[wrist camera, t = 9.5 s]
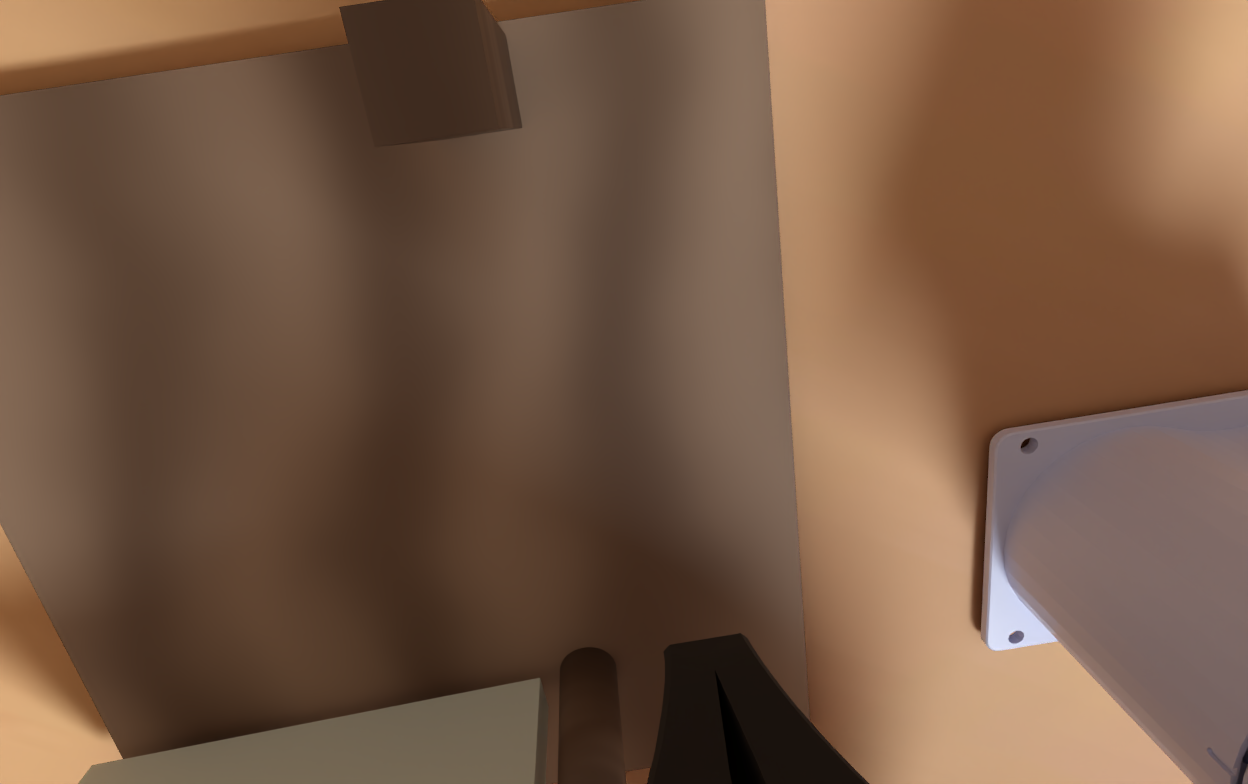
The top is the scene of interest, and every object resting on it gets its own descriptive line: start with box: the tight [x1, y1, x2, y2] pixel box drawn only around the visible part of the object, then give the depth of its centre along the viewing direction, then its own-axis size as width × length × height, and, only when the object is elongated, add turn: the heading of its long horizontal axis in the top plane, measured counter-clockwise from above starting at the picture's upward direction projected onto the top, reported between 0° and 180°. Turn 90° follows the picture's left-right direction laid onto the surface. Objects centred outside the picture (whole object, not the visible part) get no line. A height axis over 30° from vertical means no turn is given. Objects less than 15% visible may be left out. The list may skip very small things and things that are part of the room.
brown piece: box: [0, 0, 810, 784], centre depth 18 cm, size 22×23×7 cm
